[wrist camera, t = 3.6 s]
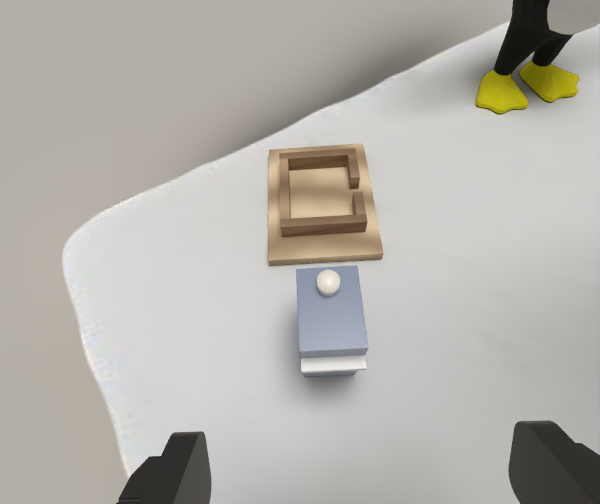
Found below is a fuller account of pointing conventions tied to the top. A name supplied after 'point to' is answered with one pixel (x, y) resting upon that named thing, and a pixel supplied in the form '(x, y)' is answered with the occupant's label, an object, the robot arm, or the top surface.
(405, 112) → the top surface
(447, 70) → the top surface
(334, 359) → the servo block
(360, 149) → the wooden fixture board
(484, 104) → the toy
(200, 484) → the robot arm
